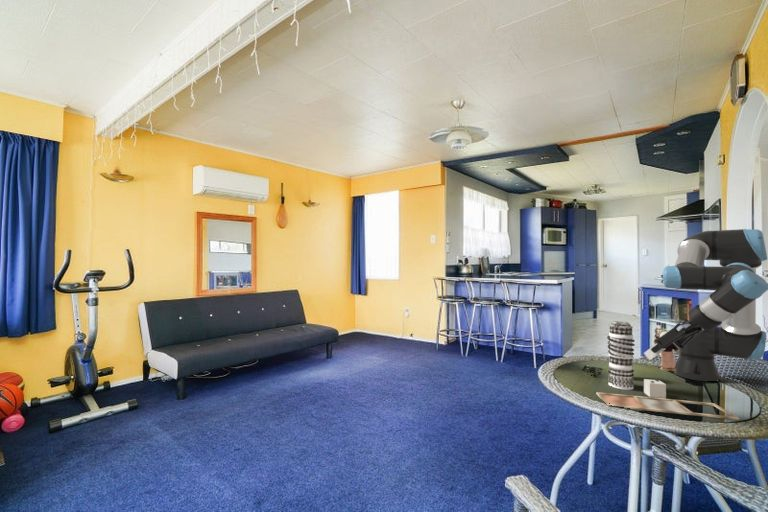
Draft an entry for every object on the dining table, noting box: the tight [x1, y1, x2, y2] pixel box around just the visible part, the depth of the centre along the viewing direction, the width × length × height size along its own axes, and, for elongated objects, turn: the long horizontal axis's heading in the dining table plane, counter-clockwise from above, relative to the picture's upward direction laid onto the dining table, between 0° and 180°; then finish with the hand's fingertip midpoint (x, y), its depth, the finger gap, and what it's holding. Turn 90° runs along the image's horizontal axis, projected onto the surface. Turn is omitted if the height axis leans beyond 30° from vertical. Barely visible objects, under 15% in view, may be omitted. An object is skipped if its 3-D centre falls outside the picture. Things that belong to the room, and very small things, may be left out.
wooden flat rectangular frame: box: [596, 391, 741, 421], centre depth 124 cm, size 36×13×1 cm, turn 75°
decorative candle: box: [606, 320, 636, 391], centre depth 144 cm, size 9×9×25 cm
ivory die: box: [643, 378, 667, 399], centre depth 134 cm, size 5×5×6 cm
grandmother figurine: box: [659, 331, 680, 372], centre depth 122 cm, size 8×4×13 cm, turn 93°
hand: (653, 355), depth 126 cm, fingers closed on grandmother figurine, 6 cm apart
